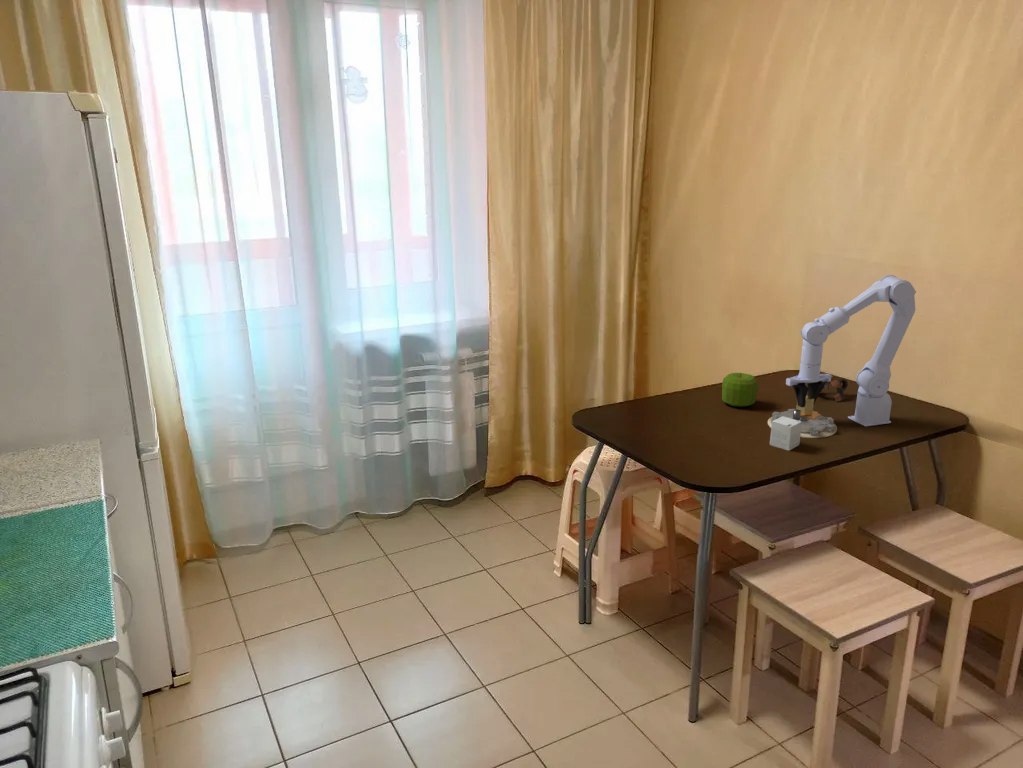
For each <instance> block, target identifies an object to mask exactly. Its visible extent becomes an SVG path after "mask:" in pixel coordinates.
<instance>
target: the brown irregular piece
mask: <svg viewBox="0 0 1023 768" xmlns="http://www.w3.org/2000/svg"><path fill="white" fill-rule="evenodd" d="M822 383H823V384H825V386H824V388H823V390H824V389H825V390H829V389H830V386H832V387H833V388H834V389H836V393H837V394H835V395H834V396H833V398H834V399H835V402H836V401H838V402H841V401H843V400H844V399H845V396H844V392H845V391H846V390H847V389H848V385H849V383H848V380H847V379H846V378H845V377H840V378H838V379H835V378H834V376H833V375H832V376H831V381H829V382H828V381H822ZM830 384H831V385H830ZM829 385H830V386H829Z"/></svg>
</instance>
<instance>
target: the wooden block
mask: <svg viewBox="0 0 1023 768" xmlns="http://www.w3.org/2000/svg"><path fill="white" fill-rule="evenodd" d="M814 407H815V404H814V398H812V397H809V396H808V394H807V395H806V399H805V405H804V407H800V406H798V403H797V402H796V406H795V410H800V411H801V414H802V415H811V414H813V411H814Z"/></svg>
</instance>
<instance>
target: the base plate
mask: <svg viewBox="0 0 1023 768" xmlns="http://www.w3.org/2000/svg"><path fill="white" fill-rule="evenodd" d="M772 419H775V418H772V416H771V417H769V418H768V420H767V425H768V427H769V428H770V429H771V426H772V424H771V420H772ZM831 425H834V430H833V431H832V432H829V431H823V432H819V433H818V435H810V434H809V433H802V432H801V434H800V439H801V438H802V439H823V438H829V437H832V436H833V435H835V434H836V433H837V431H838V427H837V424H835V423H834V422H833V424H831Z"/></svg>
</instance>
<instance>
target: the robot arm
mask: <svg viewBox="0 0 1023 768" xmlns="http://www.w3.org/2000/svg"><path fill="white" fill-rule="evenodd" d="M916 293H917V291H916V289H915V287H914V286H913V284H912V283H911V282H910V281H908V280H905V279H902V278H900V277H898V276H895V275H894V274H893V275H892V274H889V275H885V276H883V277H881V279H880V280H876V281H875V282H873V284H871V286H870V287H868V288H867V289H866V290H864V291H863V292H862V293H860V294H859V295H857V296H856V297H855V298H853V299H852V300H851V301H849V302H848V303H846V304H845V305H844V306H835V307H830V308H829V309H828V312H826V313H824V314H823V315H822V316H820V317H816V318H814V320H813V321H810V322H807V323H806V324H804V325H803V328H802V329H801V330H800V335H801V337H802V347H801V353H800V354H801V355H800V364H799V373H798V375H795V376H791V377H787V378H786V379H785V385H786V386H789V387H792V388H793V391H794V393H795V397H796V404H797V403H798V406H800V407H804V405H805V399H806V395H807V396H809V397H812V398H814V405H815V404H816V401H817V399H818V397H819V395H820V393H821V392H823V391H822V390H824V386H825V384H823V383H822V381H828V382H829V381H831V376H833V375H832V374H829V373H821V366H822V357H823V347H824V346H823V345H824V343H825V342H826V341H827V340H828V338H829V336H830V335H831V334H833V333H835V332H836V331H837V330H839V329H840V328H842V327H844V326H845V325H846V324H848V323H849V321H850V318H851V317H852V316H853V315H855V314H857V313H858V312H860V311H862V310H864V309H865V308H867V307H869V306H870V305H872V304H875V303H876V302H879V303H880V302H883V303H885V302H886V303H887V302H888V303H889V305H890V307H891V309H892V313H891V316H890V317H889V319H888V322H887V324H886V326H885V328H884V330H883V332H882V335H881V337H880V340H879V342H878V344H877V347H876V349H875V351H874V352H873V355H872V357H871V359H870V360H868V361H867V362H866V363H864V366H863V367H862V369H861V370H859V371H858V373H857V374H856V377H855V381H856V384H857V385H858V390H857V394H856V395H857V396H856V400H855V401H856V403H855V410H854V415H850V416H849V415H848V416H847V419H849V420H851V421H853V422H855V423H857V424H859V425H861V426H864V427H872V426H879V425H884V424H885V425H886V424H891V423H892V421H891V420H890V416H891V409H892V405H893V402H892V398H891V397H892V396H890V394H889V393H888V391H889V389H890V379H891V376H892V373H891V365H892V364H893V360H894V359H895V356H896V354H897V353H898V350H899V347H900V345H901V344H902V341H903V339H904V337H905V334H906V333H907V330H908V328H909V325H910V324H911V321H912V319H913V317H914V314H915V313H916V299H915V298H916V297H915V295H916Z"/></svg>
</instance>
